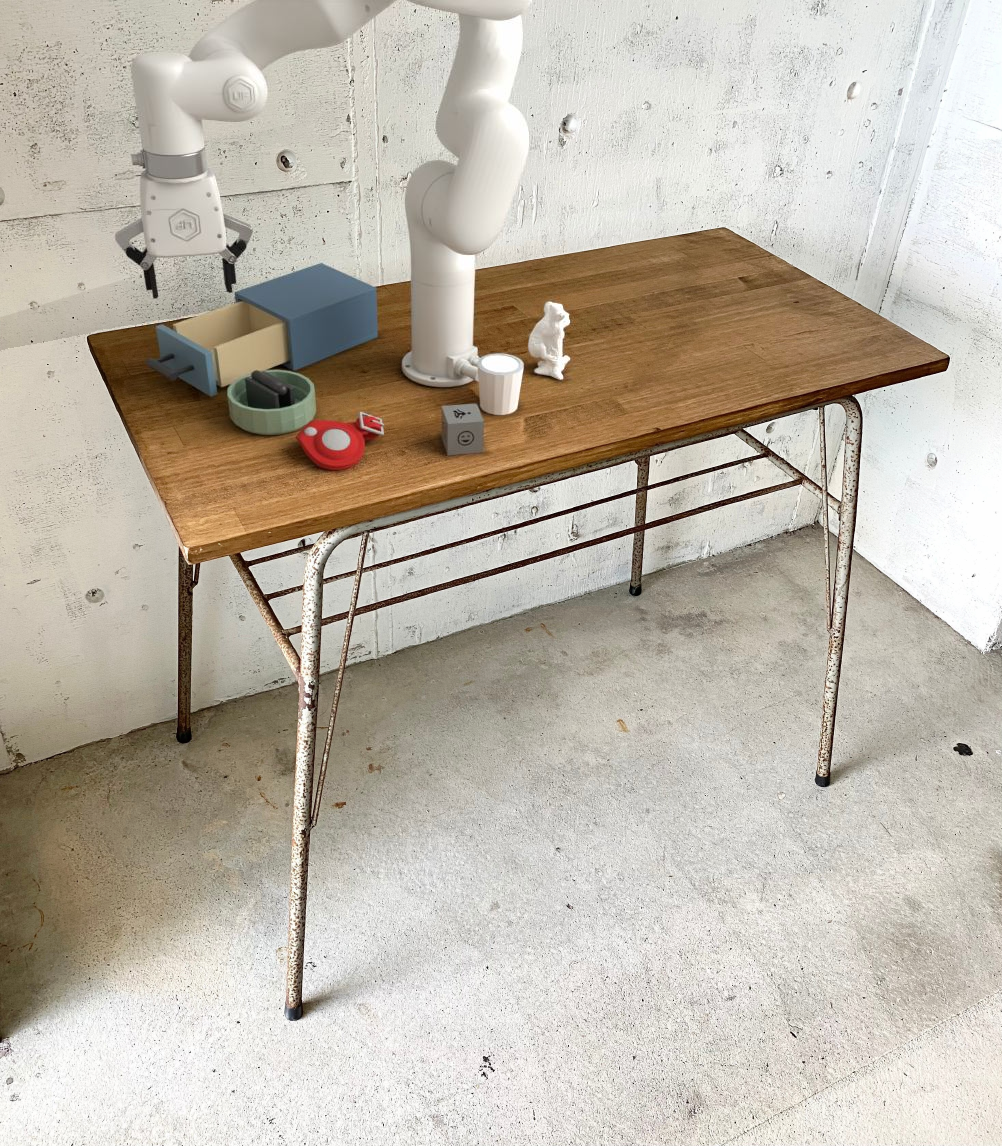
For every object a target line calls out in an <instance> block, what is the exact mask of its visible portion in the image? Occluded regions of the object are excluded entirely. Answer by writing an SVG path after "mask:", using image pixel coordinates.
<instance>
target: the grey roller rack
mask: <svg viewBox="0 0 1002 1146" xmlns="http://www.w3.org/2000/svg"><path fill="white" fill-rule="evenodd" d="M251 378H252V379H251ZM251 378H249V377H247V378H245V385H246V393H247V402H248V407H251V408H257V409H279V408H284V407H288V406H292V405H294V404H295V399H294V388H293V387H292V386H290V385H288V384H287V383H285V382H283V381H281V380H279V379H278V378H276V377H274V376H272V375H270V374H268V373H267V372H265V371H262V372H260V371H258V370H255V371H253V372H252V373H251Z"/></svg>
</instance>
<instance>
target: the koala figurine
mask: <svg viewBox="0 0 1002 1146" xmlns="http://www.w3.org/2000/svg"><path fill="white" fill-rule="evenodd" d="M543 312H544V313H543V314H544V316H543V317H542V318H541V319H540V320H539V321H538V322H537V323H536V324H535V326H534V328H533V329H532V331H531V332H530V334H529V337H528V343H527V348H528V352H529V354H530V356H531V357H533V358H534V359H539V358H541V359H542V360H539V361H538V362H537V366H538V367H536V368H534V373H535V374H537V375H544V376H550V377H552V378H554V379H556V380H562V381H563V379H564V376H563V374H562V371H563V370H565V366H566V365H567V364H568V362H569V361H571V358H570V357H569V355H564V354H563V346H564V345H563V339H565V331H564V328H566V327H569V325H570V323H571V321H570V317H569V316H570V313H569V312H567V311H565V310H564V307H563V304H562V303H558V302H552V301H546V302H545V304H544V307H543ZM563 355H564V356H563Z"/></svg>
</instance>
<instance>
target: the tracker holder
mask: <svg viewBox="0 0 1002 1146" xmlns="http://www.w3.org/2000/svg"><path fill="white" fill-rule="evenodd" d="M355 420H356V421H354V422H353V421H352V422H344V421H337V420H325V419H313V420H311V421H310V422H309V423H307V424H306V425H305V426H304V427H302V428H301V429H300V431H299V432H298V433H297V435H296V436H295V439H296V440H297V442H298V444H299V445H300V446H301V448H302V450H303V451H304V453H305V455H306V456H307V457H308V458H309V459H310V460H311V461H312V462H313V463H314V464H315V465H316V466H318V467H320V468H322V469H325V470H330V471H341V470H347V469H350V468H352V467H353V466H355V465H356V464H358V463H359V462H360V461H361V459H362V457H363V455H364V452H365V449H366V441H371V440H374V439H376V438H377V437H379V436H384V435H385V431H384V426H385V424H384V423H383V419H382V418H381V417H380V418H379V417H376V416H374V415H371V414H368V413H365V412H363V411H359V412H358V417H357V418H356V419H355Z"/></svg>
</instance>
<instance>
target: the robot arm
mask: <svg viewBox="0 0 1002 1146" xmlns="http://www.w3.org/2000/svg"><path fill="white" fill-rule="evenodd" d="M406 1H407V2H409V3H411V4H415V5H418V6H422V7H425V8H430V9H434V10H437V11H441V12H445V13H446V12H447V13H453V14H458V21H459V22H458V23H459V35H458V42H457V46H456V51H455V55H454V60H453V63H452V66H451V69H450V72H449V76H448V78H447V81H446V85H445V89H444V92H443V95H442V98H441V101H440V104H439V108H438V111H437V115H436V119H435V134H436V137H437V139H438V140H439V142H440V143H441V145H442V146H443V147H444V149H446V150H447V151H448V152H450V153H451V154H452V155H454V156H455V157H456V158H457V159H458V160H457V163H456V164H454V163H453V162H450V161H447V160H442V159H441V160H440V159H434V160H429V161H426V162H424V163H422V164H420V165H419V166H418V167H417V168H416V169H415V170H414V171H413V172H412V173H411V175H410V177H409V179H408V181H407V184H406V187H405V193H404V209H405V217H406V224H407V229H408V238H409V251H410V252H409V253H410V313H411V315H410V316H411V317H410V321H411V323H410V325H411V328H410V329H411V331H410V332H411V350H410V351H409V352H407V353H406V354H405V355H404V356H403V358H402V360H401V371H402V373H403V374H404V376H405V377H407V378H408V379H409V380H411V381H412V382H415V383H417V384H420V385H424V386H427V387H428V386H429V387H433V388H453V387H459V386H464V385H466V384H470V383H471V382H473V381H475V382H478V367H477V364H478V360H479V359H480V358H481V357H480V356H479V355H478V354H479V352H478V350H479V349H478V347H477V346H475V345H474V321H475V320H474V318H475V316H474V314H475V313H474V312H475V281H476V280H475V279H476V278H475V277H476V255H478V254H480V253H482V252H485V251H486V250H487V249H489V248H490V247H491V246H492V245H493V244H494V243H495V242H496V239H498V237H499V236H500V234H501V232H502V230H503V227H504V225H505V222H506V220H507V217H508V215H509V211H510V209H511V206H512V203H513V200H514V197H515V195H516V192H517V189H518V186H519V184H520V182H521V181H520V180H521V178H522V175H523V172H524V169H525V166H526V163H527V159H528V155H529V149H530V131H529V127H528V124H527V121H526V119H525V117H524V116H523V114H522V113H521V111H520V110H519V109H518V108H517V107H516V106H515V105H513V104H512V103H510V102H509V101H510V97H511V93H512V90H513V86H514V82H515V79H516V76H517V71H518V67H519V64H520V60H521V55H522V50H523V37H524V35H523V34H524V33H523V32H524V31H523V30H524V29H523V19H522V14H523V13H524V12H525V11H527V9H528V8H529V7H530V5H531V4H532V2H533V0H406ZM395 2H397V0H253V1H250V2H249V3H247V4H245V5H243V6H241V8H239V9H238V10H236V11H234V12H232V13H231V14H230V15H229V16H227V17H226V18H225V19H224V20H222V21H221V22H219V24H216V26H215V27H214V28H212V29H211V30H210V31H208V32H207V33H206V34H204V35H203V36H202V37H201V38H200V39H198V41H197V42H196V43H195V45H194V46H193V47H192V49H191V50H190V52H189V54H188V56H187V55H186V54H182V53H180V52H175V51H164V50H163V51H162V50H161V51H150V52H145V53H141V54H139V55H137V56H136V57H134V58H133V60H132V63H131V66H130V72H131V80H132V89H133V94H134V95H133V96H134V103H135V109H136V115H137V121H138V129H139V135H140V144H141V149H140V150H139V152H136V153H131V154H130V156H131V163H132V166H138V167H142V171H141V172H140V178H139V198H140V199H139V200H140V203H139V205H140V215H141V217H140V218H138V219H137V220H135V221H133V222H132V223H130V224H129V225H127V226H125V227H124V228H122V229H120V230H118V231H117V232H115V234H114V239H115V242H116V243H117V244H118V246H119V247H120V249H121V250H122V251H123V252H124V254H125V255H126V257H127V258H129V260H131V261H133V263H135V264H136V265H137V266H139V267H140V269H141V270H142V271H143V277H144V283H145V289H146V291H151V293H152V299H155V300H156V299H158V298H159V290H158V285H157V284H158V283H157V277H156V271H155V261H156V259H157V258H160V259H161V258H162V259H163V258H183V257H197V256H210V255H217V254H219V256H220V257H222V258H221V263H222V272H223V279H224V286H225V289H226V293H228V294H231V293H233V285H236V284H237V275H236V273H237V272H236V265H235V264H236V263H237V260H238V259H239V258H240V257H241V255H242V254H243V253H244V252H245V250H246V249H247V248H248V244H249V242H250V240H251V237H252V235H253V231H254V230H253V227H252V225H251V224H249V223H247V222H244V221H242V220H240V219H237V218H235V217H233V216H230V215H228V214H226V213H224V211H223V206H222V199H221V195H220V190H219V186H218V183H217V182H218V181H217V178H216V175H215V173H214V171H213V170H212V169H211V168H209V167H208V162H207V154H206V145H205V135H204V128H203V127H204V126H203V120H204V121H214V122H215V121H216V122H227V123H241V122H247V121H249V120H252V119H253V118H255V117H257V116H258V115H259V114H260V113H261V112H262V111H263V109H264V108H265V106H266V105H267V100H268V94H269V93H268V92H269V91H268V85H267V81H266V79H265V76H264V74H263V73H262V71H264V70H265V68H267V67H269V66H270V65H272V64H273V63H275V62H276V61H278V60H281V58H284V57H286V56H289V55H290V54H294V53H297V52H301V51H306V50H317V49H326V48H330V47H334V46H337V45H340V44H343V43H344V42H345V41H347V40H348V39H349V38H351V37H352V36H353V35H354V34H355V33H357V32H358V31H359V30H360V29H362V28H363V27H364V26H365V25H367V24H368V23H369V22H371V21H372V20H373V19H375V18H376V17H378V15H380V14H381V13H382V12H383V11H385V10H386V9H388V8H389V7H391V6H392V5H393V4H394V3H395ZM143 169H144V170H143ZM226 228H227V229H230V230H232V231H234V232H235V233H238V237H237V238H236V239H235V240H234V242H233V243H232V244H231V245H229V244H228V242H227V233H226V232H227V231H226ZM141 233H143V239H144V243H145V247H144V248H143V250H142V251H141V250H139V249H138V248H137V247H136V246H135V245H133V243H132V242H131V240H132V239H134V238H136V237H137V236H139V235H140V234H141ZM233 294H234V293H233Z"/></svg>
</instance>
